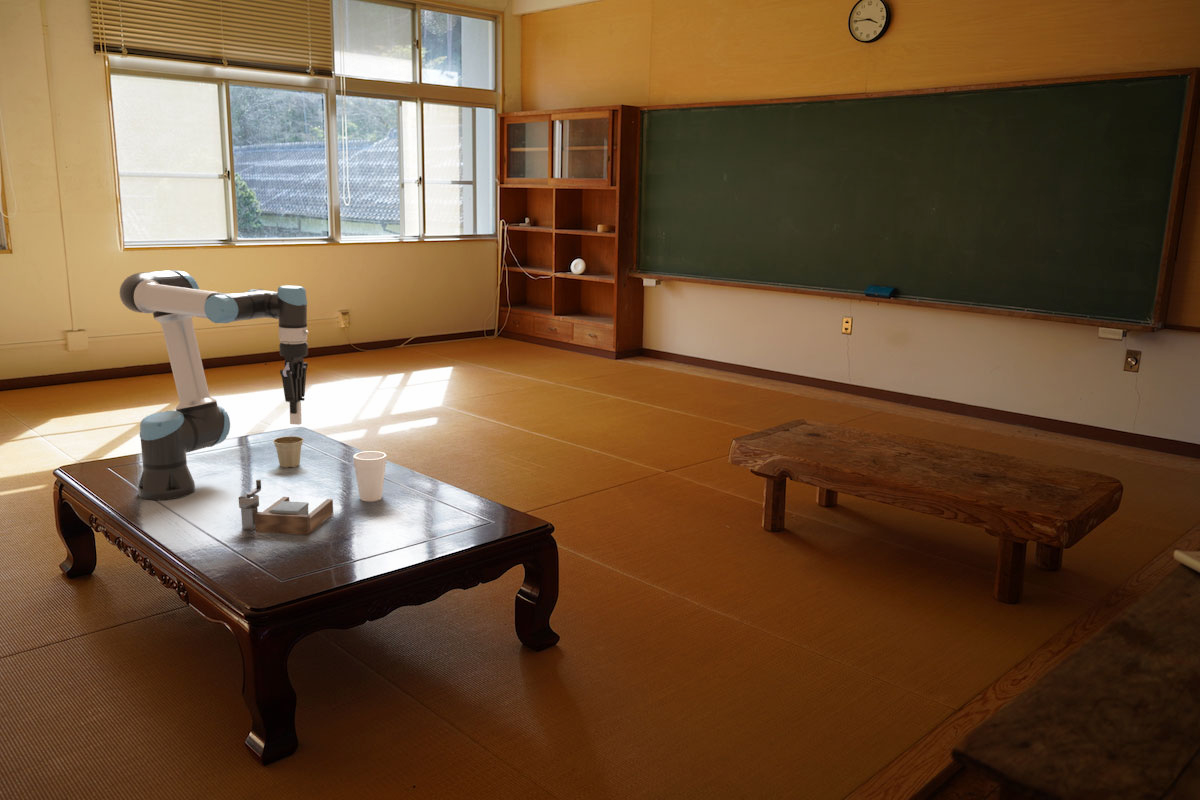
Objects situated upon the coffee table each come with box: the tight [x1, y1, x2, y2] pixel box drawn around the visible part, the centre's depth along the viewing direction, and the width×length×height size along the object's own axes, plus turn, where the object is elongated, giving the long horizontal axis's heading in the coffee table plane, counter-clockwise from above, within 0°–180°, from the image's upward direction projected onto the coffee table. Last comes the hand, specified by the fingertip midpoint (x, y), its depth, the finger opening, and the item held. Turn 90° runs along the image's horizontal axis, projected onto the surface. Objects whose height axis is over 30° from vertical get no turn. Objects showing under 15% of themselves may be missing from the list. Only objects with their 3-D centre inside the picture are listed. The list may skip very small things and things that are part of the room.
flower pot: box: [272, 435, 304, 469], centre depth 301 cm, size 9×9×9 cm
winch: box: [238, 479, 262, 531], centre depth 246 cm, size 5×9×11 cm, turn 175°
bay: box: [254, 496, 334, 536], centre depth 249 cm, size 14×18×5 cm
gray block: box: [271, 500, 310, 515], centre depth 245 cm, size 7×7×6 cm
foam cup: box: [352, 450, 387, 502], centre depth 270 cm, size 10×9×13 cm
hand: (295, 423), depth 262 cm, fingers closed
